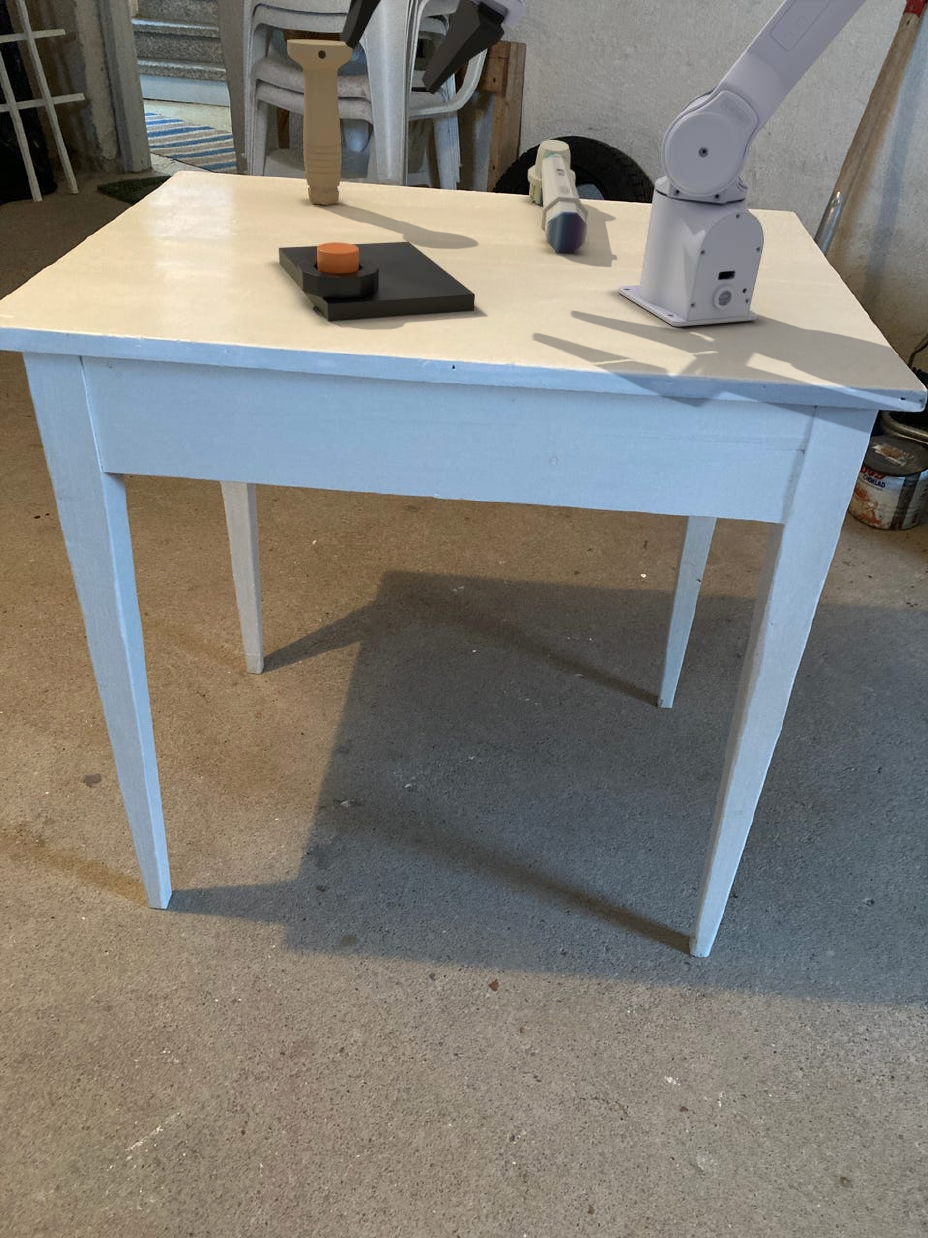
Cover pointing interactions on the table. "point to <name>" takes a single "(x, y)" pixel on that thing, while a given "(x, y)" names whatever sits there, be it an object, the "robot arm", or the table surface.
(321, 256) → the button
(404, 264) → the scale
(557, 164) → the blue-tipped octagonal rod
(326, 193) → the handle
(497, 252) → the table surface
